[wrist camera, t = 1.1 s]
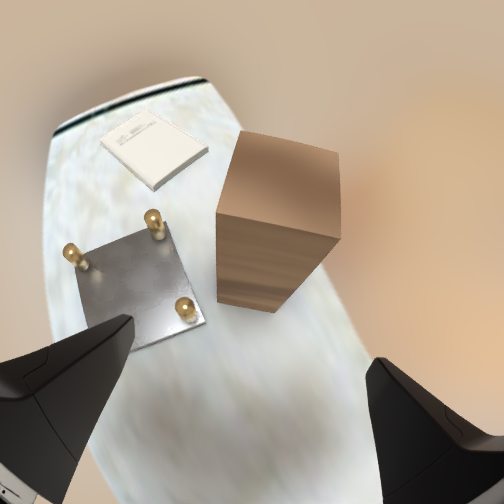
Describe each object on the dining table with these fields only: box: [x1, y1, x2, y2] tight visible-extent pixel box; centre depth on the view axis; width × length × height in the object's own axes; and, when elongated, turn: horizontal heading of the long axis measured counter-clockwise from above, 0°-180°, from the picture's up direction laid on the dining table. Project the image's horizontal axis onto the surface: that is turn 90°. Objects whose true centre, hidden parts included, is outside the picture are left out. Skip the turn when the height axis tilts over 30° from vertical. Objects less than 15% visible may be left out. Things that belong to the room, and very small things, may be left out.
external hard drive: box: [100, 109, 208, 192], centre depth 29 cm, size 2×8×12 cm
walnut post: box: [216, 131, 341, 313], centre depth 18 cm, size 5×5×14 cm
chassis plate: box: [63, 209, 205, 353], centre depth 20 cm, size 10×10×4 cm
